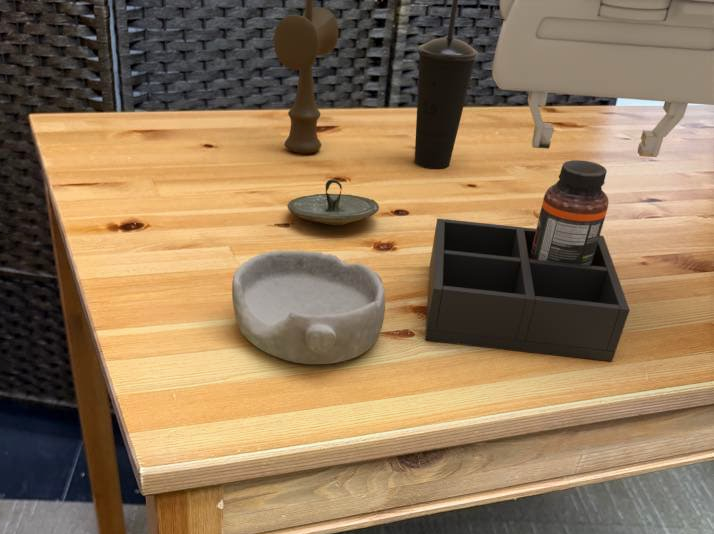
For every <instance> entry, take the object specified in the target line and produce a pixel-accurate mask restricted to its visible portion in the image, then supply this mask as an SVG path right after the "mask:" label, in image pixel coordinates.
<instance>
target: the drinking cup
mask: <svg viewBox="0 0 714 534" xmlns="http://www.w3.org/2000/svg"><path fill="white" fill-rule="evenodd" d="M458 3H459V0H452V3H451V9H450V17H449V22H448V30H447V37H439V38H435V39H432V40H429V41H428V42H426V43H424V44H421V45H419V46H418V47H417V53H418V54H419V56H418V58H419V59H418V79H417V81H418V82H417V98H416V99H417V100H416V101H417V102H416V118H415V119H416V122H415V123H416V124H415V142H414V144H415V145H414V163H415V164H416V165H417V166H419V167H421V168H426V169H432V170H433V169H434V170H435V169H436V170H439V169H440V170H441V169H446V168H448V167H449V166H450V164H451V160H452V156H453V151H454V147H455V143H456V139H457V135H458V131H459V127H460V124H461V118H462V115H463V110H464V108H465V107H464V106H465V103H466V99H467V94H468V90H469V86H470V82H471V79H472V78H471V77H472V73H473V69H474V67H475V66H474V65H475V61H476V60H477V59H478V58H479V51H478V50H476V49H474V48H473V47H472V46H471V45H469V44H468V43H466V42H464V41H463V40H461V39H457V38H454V32H455V24H456V19H457V11H458V6H459V4H458Z"/></svg>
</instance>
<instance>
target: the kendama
mask: <svg viewBox="0 0 714 534" xmlns="http://www.w3.org/2000/svg"><path fill="white" fill-rule="evenodd" d="M339 34H340V33H339V23H338V21H337V19H336V15H335V14H334V13H332V12H331V11H330V10H329V9H327V8H324V7H321V6H315V7H314V0H305V10H304V12H303V14H302V15H299V14H290V15H289V14H288V15H286V16H285V17H283V18H282V19H280V20H279V21H278V23H277V25H276V27H275V29H274V35H273V49H274V53H275V55H276V57H277V60H278V62H279V63H281V64H282V65H283V66H284V67H286V68H287V69H290V70H293V71H299V74H298V82H297V87H296V93H295V98H294V101H293V105H292V106H291V108H290V109H289V110H288V112H287V114H288V117H289V118H290V129H289V134H288V137H287V138H286V140H285V141H284V147H285V148H286V149H287V150H289V151H291V152H293V153H298V154H312V153H315V152H317V151H319V150H320V149H321V148H322V143H321V141H320V139H319V137H318V133H317V132H318V131H317V130H318V129H317V126H318V120H319V119H320V117H321V112H320V110H319V109H318V107H317V103H316V99H315V97H316V96H315V88H314V87H315V86H314V73H313V64H314V63H315V61H316V59H317V58H318V56H326V55H328V54H330V53H332V52H333V50H334V49H335V47H336V46H337V44H338V39H339Z"/></svg>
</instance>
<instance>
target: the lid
mask: <svg viewBox="0 0 714 534" xmlns="http://www.w3.org/2000/svg"><path fill="white" fill-rule="evenodd" d="M332 184H336V185H338V187H339V190H340V191H339V194H338V193H328V190H329V189H330V186H331V185H332ZM342 188H343V185H342V184H341V183H340V181H338V180H337V179H334V178H333V179H328V180H327V181H326V183H325V193H316V194H315V193H314V194H310V195H302V196H298V197H296V198H293V199H292V200H291V201H289V202H288V204H286V205H287V206H286V207H287V209H288V211H289V212H290V213H291V214H293V215H294V216H296V217H298V218H302V219H304V220H307V221H311V222H315V223H320V224H325V225H330V226H337V227H338V226H343V225H346V224H349V223H354V222H357V221H360V220H363V219H366V218H369V217H372V216H373V215H375V214H376V213H378V212H379V210H380V206H379V203H378V202H376V201H375V200H374V199H371V198H368V197H363V196H359V195H354V194H344V193H343V194H342V190H343V189H342Z"/></svg>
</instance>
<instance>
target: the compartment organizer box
mask: <svg viewBox="0 0 714 534" xmlns="http://www.w3.org/2000/svg"><path fill="white" fill-rule="evenodd" d="M536 229H537V228H532V227H524V226H516V225H515V226H514V225H505V224H495V223H486V222H485V223H484V222H475V221H467V220H458V219H457V220H456V219H447V218H445V219H444V218H436V222H435V230H434V236H433V242H432V249H431V253H430V254H431V255H430V262H429V270H428V271H429V272H428V286H427V287H428V289H427V304H426V319H425V320H426V321H425V334H424V335H425V337H424V340H425V341H428V342H429V341H430V342H437V343H446V344H456V345H463V346H471V347H472V346H473V347H481V348H490V349H499V350H506V351H515V350H516V351H517V352H525V353H534V354H543V355H551V356H560V357H561V356H562V357H569V358H577V359H586V360H587V359H588V360H595V361H604V362H613V360H614V357H615V355H616V351H617V348H618V345H619V343H620V339H621V337H622V334H623V332H624V331H623V330H624V328H625V325H626V322H627V319H628V316H629V313H630V307H629V304H628V301H627V299H626V296H625V293H624V290H623V286H622V284H621V282H620V279H619V276H618V273H617V271H616V270H617V269H616V268H615V265H614V262H613V259H612V256H611V254H610V250H609V248H608V245H607V242H606V239H605V237H604V235H602V234H600V237H599V240H598V243H597V247H596V250H595V253H594V258H593V260H592V264H591V266H590V265H580V264H571V263H562V262H552V261H543V260H534V259H530V254H531V250H532V246H533V242H534V237H535V233H536ZM516 351H515V352H516Z"/></svg>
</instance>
